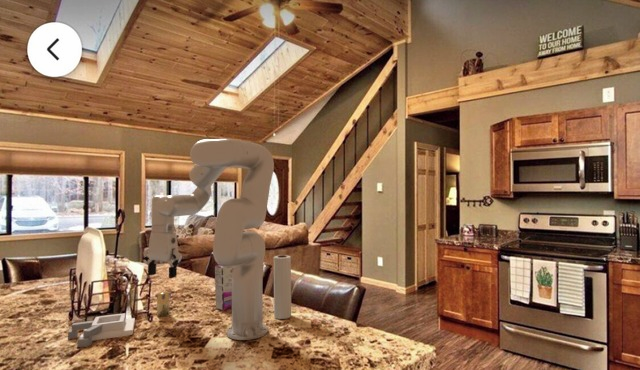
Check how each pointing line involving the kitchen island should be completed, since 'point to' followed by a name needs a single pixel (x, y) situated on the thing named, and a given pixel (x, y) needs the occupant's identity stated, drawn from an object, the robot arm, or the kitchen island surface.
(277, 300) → the paper towel roll
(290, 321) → the kitchen island surface
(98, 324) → the shaft stand
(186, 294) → the kitchen island surface
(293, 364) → the kitchen island surface
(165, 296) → the gold rounded cylinder
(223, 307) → the candy bar box
